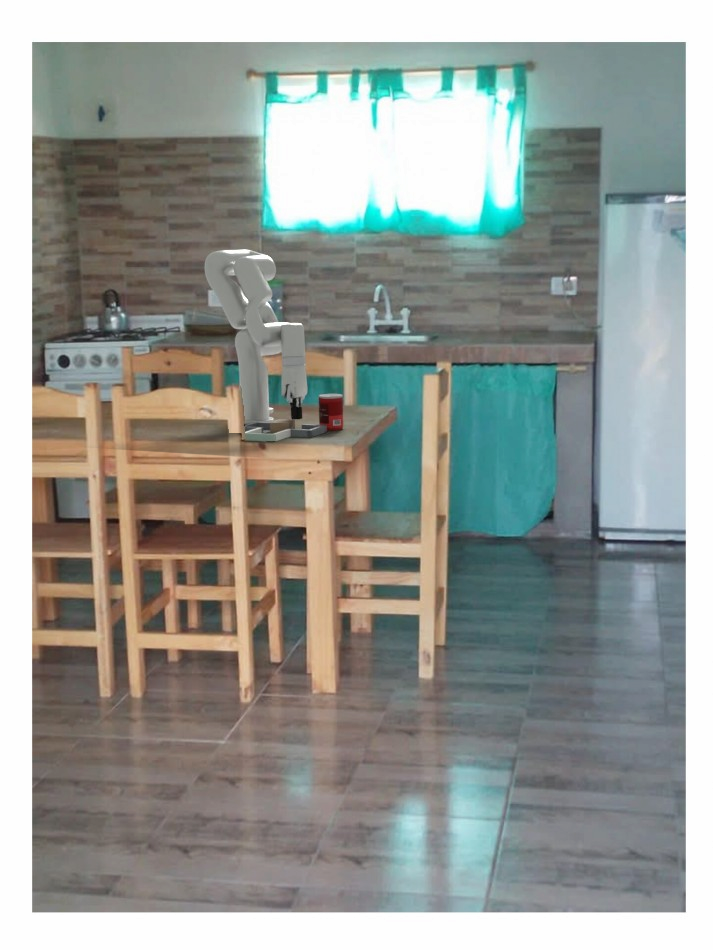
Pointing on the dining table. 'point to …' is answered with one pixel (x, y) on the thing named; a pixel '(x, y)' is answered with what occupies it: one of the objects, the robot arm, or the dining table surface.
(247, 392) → the robot arm
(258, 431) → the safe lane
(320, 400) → the canned food
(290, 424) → the walnut block
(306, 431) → the tray
